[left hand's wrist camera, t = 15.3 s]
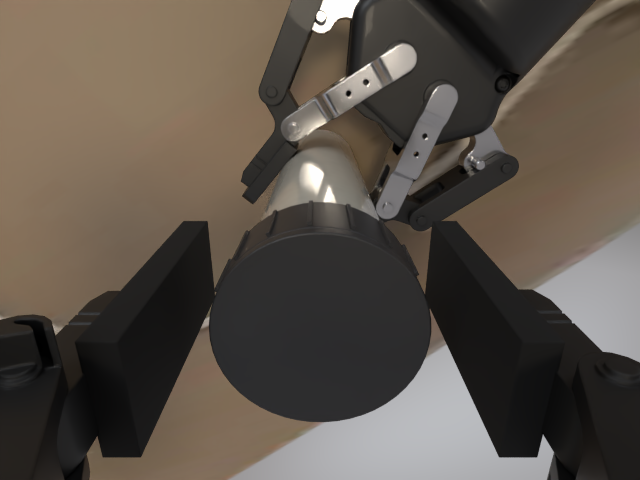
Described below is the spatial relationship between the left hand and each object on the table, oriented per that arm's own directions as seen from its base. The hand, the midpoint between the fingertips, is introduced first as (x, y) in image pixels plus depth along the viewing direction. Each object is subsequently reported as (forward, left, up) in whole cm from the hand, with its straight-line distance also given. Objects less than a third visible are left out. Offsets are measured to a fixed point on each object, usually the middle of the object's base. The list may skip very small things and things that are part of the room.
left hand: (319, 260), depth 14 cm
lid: (0, 0, +4) cm, 4 cm away
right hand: (-3, -1, -9) cm, 10 cm away
